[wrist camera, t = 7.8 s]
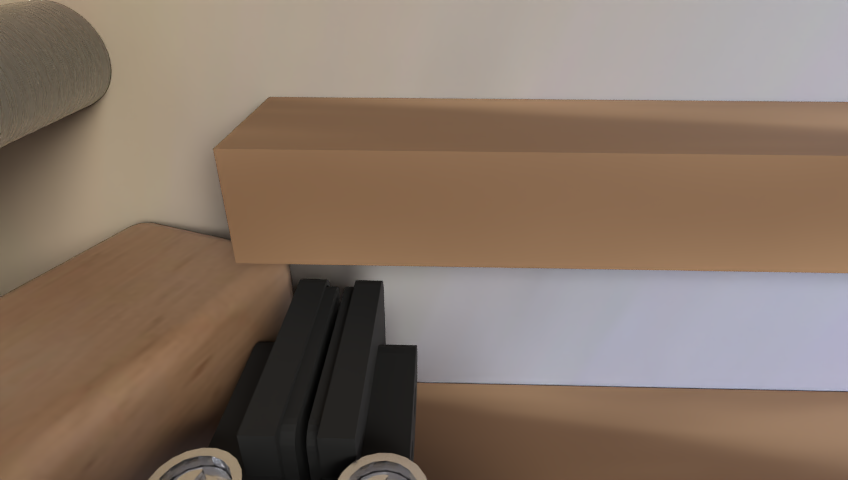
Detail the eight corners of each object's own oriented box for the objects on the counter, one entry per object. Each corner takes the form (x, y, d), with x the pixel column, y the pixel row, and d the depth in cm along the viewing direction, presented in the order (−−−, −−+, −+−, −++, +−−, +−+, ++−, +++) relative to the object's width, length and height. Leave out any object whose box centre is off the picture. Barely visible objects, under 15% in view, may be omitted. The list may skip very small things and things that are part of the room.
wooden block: (295, 246, 11) (-260, 714, 4) (313, 392, 13) (-50, 869, 6) (140, 212, 12) (-479, 538, 5) (177, 351, 14) (-245, 714, 7)
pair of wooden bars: (892, 446, 15) (988, 555, 12) (315, 433, 15) (289, 535, 13) (1103, 103, 10) (1329, 161, 8) (269, 97, 11) (212, 148, 8)
